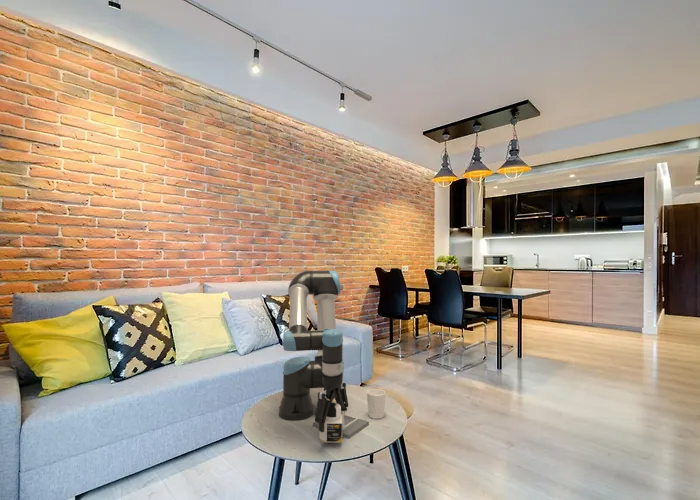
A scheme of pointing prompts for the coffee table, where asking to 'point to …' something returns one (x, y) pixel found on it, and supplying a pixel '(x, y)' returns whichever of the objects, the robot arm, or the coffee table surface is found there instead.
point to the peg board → (349, 425)
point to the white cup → (376, 403)
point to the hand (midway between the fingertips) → (332, 433)
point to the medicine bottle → (334, 423)
